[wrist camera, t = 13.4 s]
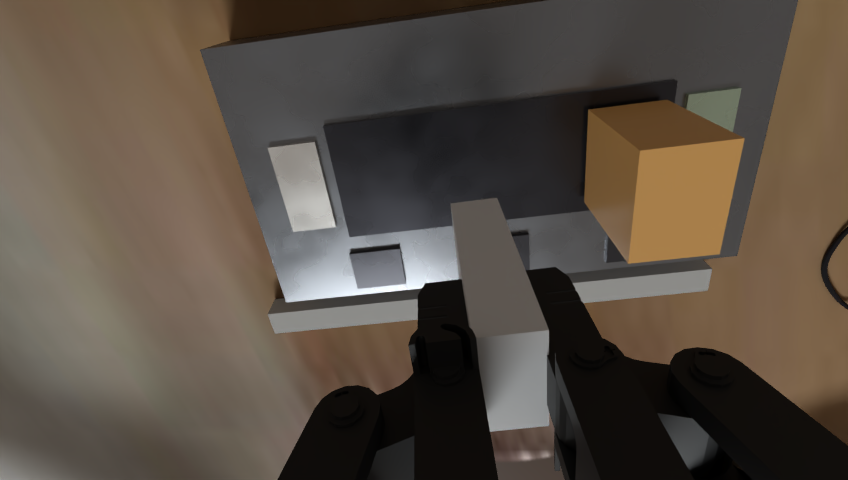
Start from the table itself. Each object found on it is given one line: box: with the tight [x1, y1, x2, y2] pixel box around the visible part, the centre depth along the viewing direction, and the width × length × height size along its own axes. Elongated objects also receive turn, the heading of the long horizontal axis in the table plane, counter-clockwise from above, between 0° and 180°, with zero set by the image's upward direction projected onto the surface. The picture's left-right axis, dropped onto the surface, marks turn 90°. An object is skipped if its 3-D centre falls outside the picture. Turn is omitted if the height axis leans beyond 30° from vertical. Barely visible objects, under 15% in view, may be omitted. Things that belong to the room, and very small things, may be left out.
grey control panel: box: [200, 0, 798, 302], centre depth 21 cm, size 22×12×3 cm, turn 97°
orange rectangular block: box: [584, 100, 745, 264], centre depth 17 cm, size 3×4×5 cm
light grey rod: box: [268, 259, 712, 334], centre depth 26 cm, size 24×1×1 cm, turn 97°
